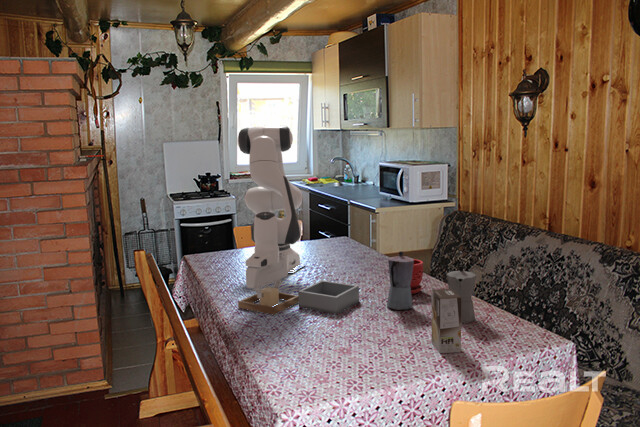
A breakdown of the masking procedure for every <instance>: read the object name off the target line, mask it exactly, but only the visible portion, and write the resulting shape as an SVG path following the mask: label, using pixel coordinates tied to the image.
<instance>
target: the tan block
mask: <svg viewBox="0 0 640 427" xmlns="http://www.w3.org/2000/svg"><path fill="white" fill-rule="evenodd" d="M261 292H262V293H264V295H263V296H264V297H263V298H261V299H260V298H259V299H260V300H259V304H260V305H265V306H270V307H272V306H274V305H276V304H278V303H279V304H280V300H279V292H280V291H278V289H277V288H273V287H270V286H266V287H264V288H262V289H261Z"/></svg>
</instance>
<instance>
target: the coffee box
mask: <svg viewBox="0 0 640 427" xmlns="http://www.w3.org/2000/svg"><path fill="white" fill-rule="evenodd" d="M431 343H432V345H433V346H434V347H435V349H436V350H437V351H438V353H439V354H449V353H450V354H452V353H461V350H462V323H461V297H460V296H459V295H458V294H457V293H456V292H455V291H453V290H452V289H449V288H439V289H431Z"/></svg>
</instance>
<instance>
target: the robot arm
mask: <svg viewBox="0 0 640 427" xmlns="http://www.w3.org/2000/svg"><path fill="white" fill-rule="evenodd" d="M293 141H294V139H293V134H292V131H291V128H290V127H288V126H287V125H262V126H254V127H246V128H242V129H241V130H240V131H239V132H238V135H237V146H238V148H239V150H240V151H241V152H242V153H243V154H246V155H249V161H248V162H249V173H250V178H251V180H252V181H253V183H254V184H256V186H255V187H254V186H253V187H250V188H249V189H247V190H246V192H245V196H244V203H245V205H246V207H247V208H248V209H249V210H250V211H252V213H254V214H255V216H254V221H253V222H252V223H251V225H250V232H251V233H250V235H251V237H250V238H251V241H252V242H254V253H252V254H251V255H250V256H249V257H248V258H247V259H246V260H245V267H246V270H245V283H246V287H247V288H248V289H253V290H254V291H255V294H257V298H260V299H261V298H263V297H264V296H263V295H264V293H262V292H261V289H263V287H264V286H267V285H269V284H272V283H274V282H275V283H274V286H273V287H272V288H277V289H278V292H280V286H281V283H282V279H284V278H287V277H288V275H289V274H288V272H293V271H290V270H294V269H293V268H295V267H296V266H298V265H300V263H301V257H300V254H299V253H298V252H296V250H294V249H292V247H291V245H295V244H296V243H297V242H298V241H299V240H300V239H301V236H302V229H301V228H302V227H301V225H300V222H299V220H298V216H297V212H296V210H297V209H299V208H300V207H301V205H302V203H303V194H302V191H301V189H299V187H298V186H295V184H293V183H292V182H291V181H289V179H288V176H286V173H285V169H284V162H283V154H282V153H284V152H287V151H289V150H290V149H291V147H292V144H293ZM274 211H280V212H281V211H284V213H285V217H281V218H279V217H277V216H276V214H275V213H274ZM294 271H295V270H294Z"/></svg>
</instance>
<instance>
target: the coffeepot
mask: <svg viewBox="0 0 640 427" xmlns="http://www.w3.org/2000/svg"><path fill="white" fill-rule="evenodd" d="M476 278H477V274H475V273H474V272H471V271H466V270H465V267H464V265H459V266H458V270H455V271H454V270H453V271H452V270H451V271H449V272H448V273H446V279H447V285H448V289H452V290H453V291H455V292H456V293H457V294H458V295H459V296H460V297H461V324H469V323H473V322H474V321H475V319H476V314H475V309H474V308H475V307H474V301H473V300H472V296H473V295H474V291H475V286H476Z"/></svg>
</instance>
